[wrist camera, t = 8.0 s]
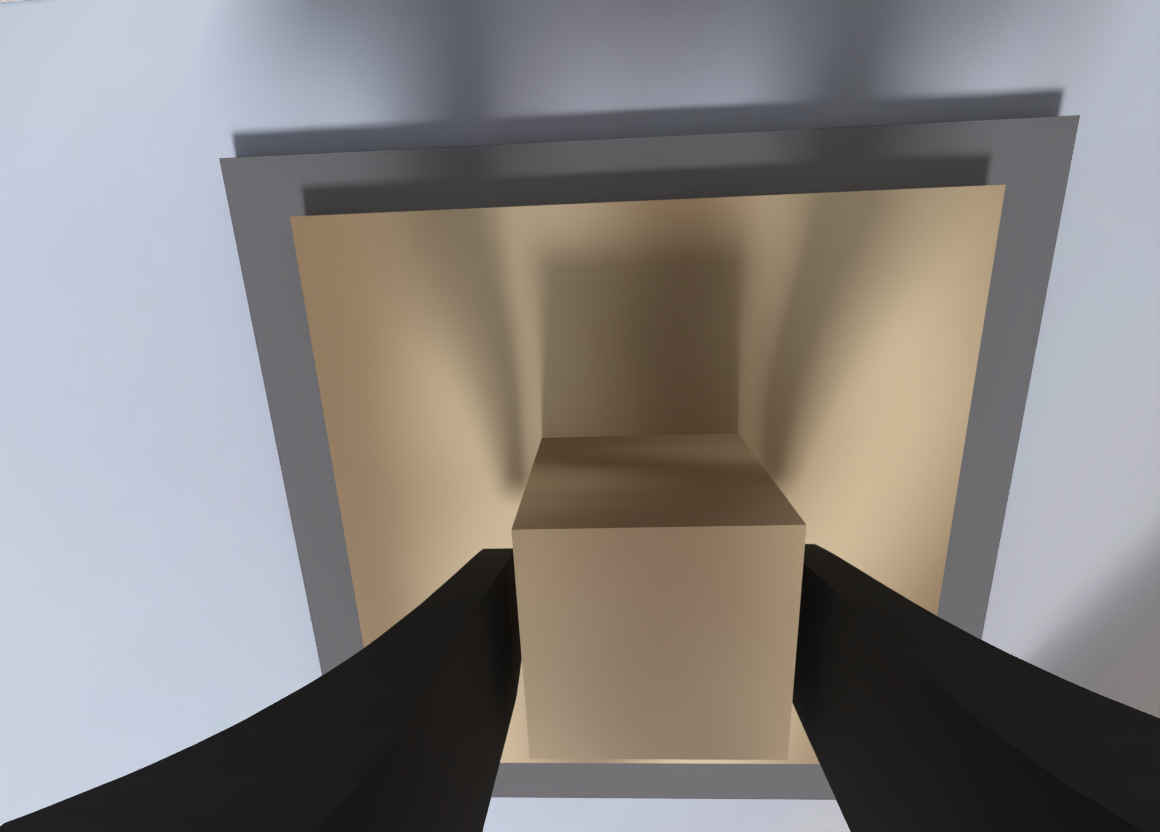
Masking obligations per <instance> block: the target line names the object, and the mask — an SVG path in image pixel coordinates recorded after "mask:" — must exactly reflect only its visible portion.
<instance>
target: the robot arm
mask: <svg viewBox="0 0 1160 832" xmlns="http://www.w3.org/2000/svg"><path fill="white" fill-rule="evenodd" d="M521 661H522V656H521V643H520V631H519V619H518V606H517V594H516V581H515V569H514V556H513V548H497V549H482V550H481V551H480V552H478V553H477V554H476V555H475V556H474V557H473V558H472V559H470V560H469V561H468V562H467V563H466V564H465V565H464V566H463V567H462V568H461V569H460V570H458V571H457V572H456V573H455V574H454V575H453V576H452V577H451V578H450V579H449V580H447V581H446V582H445V583H444V584H443V585H442V586H441V587H439V588H438V589H437V590H436V591H435V592H434V593H433V594H431V595H430V596H429V597H428V598H427V599H426V600H425V601H423V602H422V603H421V604H420V605H419V606H418V607H416V608H415V609H414V610H412V611H411V612H410V613H409V614H407V615H406V616H405V617H404V618H402V619H401V620H400V621H399V622H397V623H396V624H395V625H393V626H392V627H391V628H390V629H388V630H387V631H386V632H385V633H383V634H382V635H381V636H380V637H378V638H377V639H376V640H374V641H373V642H371V643H370V644H369V645H367V646H366V647H365V648H363V649H362V650H360V651H359V652H357V653H356V654H354V655H353V656H352V657H350V658H349V659H347V660H346V661H344V662H343V663H341V664H339V665H338V666H336V667H335V668H333V669H332V670H330V671H329V672H327V673H326V674H324V675H322V676H321V677H319V678H318V679H316V680H314V681H313V682H311V683H310V684H308V685H306V686H304V687H303V688H301V689H299V690H297V691H295V692H294V693H292V694H290V695H288V696H286V697H285V698H283V699H281V700H279V701H278V702H276V703H274V704H272V705H270V706H269V707H267V708H265V709H263V710H261V711H260V712H258V713H256V714H254V715H252V716H251V717H249V718H247V719H245V720H243V721H241V722H239V723H238V724H236V725H234V726H232V727H230V728H228V729H226V730H224V731H221V732H219V733H217V734H215V735H213V736H211V737H209V738H207V739H205V740H203V741H201V742H199V743H197V744H195V745H193V746H191V747H188V748H186V749H184V750H182V751H180V752H177V753H175V754H173V755H171V756H169V757H167V758H164V759H162V760H160V761H158V762H156V763H153V764H151V765H149V766H147V767H144V768H142V769H140V770H137V771H135V772H133V773H130V774H128V775H126V776H123V777H121V778H118V779H116V780H113V781H111V782H108V783H106V784H103V785H101V786H98V787H96V788H93V789H91V790H88V791H86V792H83V793H81V794H78V795H76V796H73V797H71V798H68V799H66V800H63V801H61V802H58V803H56V804H53V805H51V806H48V807H46V808H43V809H41V810H38V811H36V812H33V813H30V814H28V815H25V816H22V817H20V818H17V819H14V820H12V821H9V822H6V823H4V824H3V825H1V826H0V832H482V831H483V827H484V823H485V819H486V815H487V811H488V807H489V803H490V800H491V796H492V792H493V788H494V784H495V780H496V776H497V772H498V768H499V765H500V761H501V757H502V753H503V749H504V745H505V741H506V737H507V733H508V729H509V725H510V722H511V718H512V714H513V710H514V705H515V701H516V697H517V691H518V683H519V676H520V669H521ZM792 703H793V705H794V708H795V710H796V712H797V714H798V717H799V719H800V721H801V723H802V726H803V728H804V730H805V732H806V734H807V737H808V739H809V741H810V743H811V746H812V748H813V750H814V752H815V754H816V757H817V759H818V761H819V763H820V765H821V767H822V770H823V772H824V774H825V776H826V778H827V781H828V783H829V785H830V787H831V789H832V792H833V794H834V796H835V798H836V800H837V803H838V805H839V807H840V809H841V811H842V814H843V816H844V818H845V820H846V822H847V825H848V827H849V829H850V831H851V832H1160V718H1157V717H1155V716H1152V715H1150V714H1147V713H1145V712H1142V711H1140V710H1137V709H1135V708H1132V707H1129V706H1127V705H1124V704H1122V703H1119V702H1117V701H1114V700H1112V699H1109V698H1107V697H1104V696H1102V695H1099V694H1097V693H1095V692H1092V691H1090V690H1088V689H1085V688H1083V687H1081V686H1078V685H1076V684H1074V683H1071V682H1069V681H1067V680H1064V679H1062V678H1060V677H1058V676H1056V675H1054V674H1051V673H1049V672H1047V671H1045V670H1043V669H1041V668H1038V667H1036V666H1034V665H1032V664H1030V663H1028V662H1026V661H1023V660H1021V659H1019V658H1017V657H1015V656H1013V655H1010V654H1008V653H1006V652H1004V651H1002V650H1000V649H998V648H996V647H994V646H992V645H990V644H988V643H986V642H984V641H983V640H981V639H979V638H977V637H975V636H973V635H971V634H970V633H968V632H966V631H964V630H962V629H960V628H958V627H957V626H955V625H953V624H951V623H949V622H947V621H945V620H944V619H942V618H940V617H938V616H936V615H935V614H933V613H931V612H929V611H928V610H926V609H924V608H922V607H921V606H919V605H917V604H916V603H914V602H912V601H910V600H909V599H907V598H905V597H904V596H902V595H900V594H899V593H897V592H895V591H894V590H892V589H890V588H889V587H887V586H885V585H884V584H882V583H881V582H879V581H877V580H876V579H874V578H872V577H871V576H869V575H868V574H866V573H864V572H863V571H861V570H859V569H858V568H856V567H855V566H853V565H851V564H850V563H848V562H846V561H845V560H843V559H841V558H840V557H838V556H836V555H835V554H833V553H831V552H830V551H828V550H826V549H824V548H822V547H820V546H818V545H816V544H805V550H804V562H803V575H802V587H801V600H800V612H799V624H798V637H797V649H796V662H795V674H794V687H793V699H792Z"/></svg>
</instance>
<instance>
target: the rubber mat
mask: <svg viewBox="0 0 1160 832" xmlns="http://www.w3.org/2000/svg"><path fill="white" fill-rule="evenodd" d="M1079 117H1080V115H1077V116H1057V117H1037V118H1017V119H997V120H977V121H957V122H937V123H917V124H897V125H877V126H857V127H837V128H817V129H797V130H777V131H757V132H737V133H717V134H697V135H677V136H657V137H637V138H617V139H597V140H577V141H557V142H537V143H517V144H497V145H477V146H457V147H437V148H417V149H397V150H377V151H357V152H337V153H317V154H297V155H277V156H257V157H237V158H219V159H220V164H221V169H222V174H223V179H224V184H225V189H226V194H227V199H228V204H229V209H230V214H231V219H232V224H233V229H234V235H235V240H236V245H237V250H238V255H239V260H240V265H241V270H242V275H243V280H244V285H245V290H246V295H247V300H248V305H249V310H250V315H251V320H252V325H253V330H254V335H255V340H256V345H257V350H258V355H259V360H260V365H261V370H262V375H263V380H264V385H265V390H266V395H267V400H268V405H269V410H270V415H271V420H272V425H273V430H274V435H275V440H276V445H277V450H278V455H279V460H280V465H281V470H282V475H283V480H284V485H285V490H286V495H287V500H288V505H289V510H290V516H291V521H292V526H293V531H294V536H295V541H296V546H297V551H298V556H299V561H300V566H301V571H302V576H303V581H304V586H305V591H306V596H307V601H308V606H309V611H310V616H311V621H312V626H313V631H314V636H315V641H316V646H317V651H318V656H319V661H320V666H321V671H322V675H324V674H326V673H327V672H329V671H330V670H332V669H333V668H335V667H336V666H338V665H339V664H341V663H343V662H344V661H346V660H347V659H349V658H350V657H352V656H353V655H354V654H356V653H357V652H359V651H360V650H362V649H363V648H364V645H363V639H362V634H361V628H360V622H359V616H358V610H357V605H356V599H355V593H354V587H353V581H352V576H351V570H350V564H349V558H348V552H347V546H346V541H345V535H344V529H343V523H342V517H341V512H340V506H339V500H338V494H337V488H336V482H335V477H334V471H333V465H332V459H331V453H330V448H329V442H328V436H327V430H326V424H325V419H324V413H323V407H322V401H321V395H320V389H319V384H318V378H317V372H316V366H315V360H314V355H313V349H312V343H311V337H310V331H309V325H308V320H307V314H306V308H305V302H304V296H303V291H302V285H301V279H300V273H299V267H298V262H297V256H296V250H295V244H294V238H293V232H292V227H291V221H290V217H293V216H316V215H338V214H360V213H383V212H405V211H427V210H450V209H472V208H494V207H517V206H539V205H561V204H584V203H606V202H628V201H651V200H673V199H695V198H718V197H740V196H762V195H785V194H807V193H829V192H852V191H874V190H896V189H919V188H941V187H963V186H986V185H1006V187H1005V193H1004V199H1003V205H1002V212H1001V218H1000V224H999V231H998V237H997V243H996V249H995V256H994V262H993V268H992V274H991V281H990V287H989V293H988V299H987V306H986V312H985V318H984V325H983V331H982V337H981V343H980V350H979V356H978V362H977V368H976V375H975V381H974V387H973V393H972V400H971V406H970V412H969V419H968V425H967V431H966V437H965V444H964V450H963V456H962V462H961V469H960V475H959V481H958V488H957V494H956V500H955V506H954V513H953V519H952V525H951V531H950V538H949V544H948V550H947V556H946V563H945V569H944V575H943V582H942V588H941V594H940V600H939V607H938V613H937V616H938V617H940V618H942V619H944V620H945V621H947V622H949V623H951V624H953V625H955V626H957V627H958V628H960V629H962V630H964V631H966V632H968V633H970V634H971V635H973V636H975V637H977V638H979V639H981V638H982V633H983V628H984V622H985V617H986V612H987V607H988V601H989V596H990V591H991V585H992V580H993V575H994V569H995V564H996V559H997V553H998V548H999V543H1000V537H1001V532H1002V527H1003V521H1004V516H1005V511H1006V505H1007V500H1008V495H1009V489H1010V484H1011V479H1012V473H1013V468H1014V463H1015V457H1016V452H1017V447H1018V442H1019V436H1020V431H1021V426H1022V420H1023V415H1024V410H1025V404H1026V399H1027V394H1028V388H1029V383H1030V378H1031V372H1032V367H1033V362H1034V356H1035V351H1036V346H1037V340H1038V335H1039V330H1040V324H1041V319H1042V314H1043V308H1044V303H1045V298H1046V292H1047V287H1048V282H1049V277H1050V271H1051V266H1052V261H1053V255H1054V250H1055V245H1056V239H1057V234H1058V229H1059V223H1060V218H1061V213H1062V207H1063V202H1064V197H1065V191H1066V186H1067V181H1068V175H1069V170H1070V165H1071V159H1072V154H1073V149H1074V143H1075V138H1076V133H1077V127H1078V122H1079ZM491 797H536V798H673V799H811V800H836V798H835V796H834V794H833V792H832V789H831V787H830V785H829V783H828V781H827V778H826V776H825V774H824V772H823V770H822V767H821V765H820V764H686V763H500V765H499V768H498V772H497V776H496V780H495V784H494V788H493V792H492V796H491Z"/></svg>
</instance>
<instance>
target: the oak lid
mask: <svg viewBox="0 0 1160 832" xmlns="http://www.w3.org/2000/svg"><path fill="white" fill-rule="evenodd" d="M1005 187H1006V185H986V186H963V187H941V188H919V189H896V190H874V191H852V192H829V193H807V194H785V195H762V196H740V197H718V198H695V199H673V200H651V201H628V202H606V203H584V204H561V205H539V206H517V207H494V208H472V209H450V210H427V211H405V212H383V213H360V214H338V215H316V216H293V217H290V221H291V227H292V232H293V238H294V244H295V250H296V256H297V262H298V267H299V273H300V279H301V285H302V291H303V296H304V302H305V308H306V314H307V320H308V325H309V331H310V337H311V343H312V349H313V355H314V360H315V366H316V372H317V378H318V384H319V389H320V395H321V401H322V407H323V413H324V419H325V424H326V430H327V436H328V442H329V448H330V453H331V459H332V465H333V471H334V477H335V482H336V488H337V494H338V500H339V506H340V512H341V517H342V523H343V529H344V535H345V541H346V546H347V552H348V558H349V564H350V570H351V576H352V581H353V587H354V593H355V599H356V605H357V610H358V616H359V622H360V628H361V634H362V639H363V645H364V648H365V647H366V646H367V645H369V644H370V643H371V642H373V641H374V640H376V639H377V638H378V637H380V636H381V635H382V634H383V633H385V632H386V631H387V630H388V629H390V628H391V627H392V626H393V625H395V624H396V623H397V622H399V621H400V620H401V619H402V618H404V617H405V616H406V615H407V614H409V613H410V612H411V611H412V610H414V609H415V608H416V607H418V606H419V605H420V604H421V603H422V602H423V601H425V600H426V599H427V598H428V597H429V596H430V595H431V594H433V593H434V592H435V591H436V590H437V589H438V588H439V587H441V586H442V585H443V584H444V583H445V582H446V581H447V580H449V579H450V578H451V577H452V576H453V575H454V574H455V573H456V572H457V571H458V570H460V569H461V568H462V567H463V566H464V565H465V564H466V563H467V562H468V561H469V560H470V559H472V558H473V557H474V556H475V555H476V554H477V553H478V552H480V551H481V550H482V549H497V548H513V556H514V569H515V581H516V594H517V606H518V619H519V631H520V643H521V656H522V661H521V669H520V676H519V683H518V691H517V697H516V701H515V705H514V710H513V714H512V718H511V722H510V725H509V729H508V733H507V737H506V741H505V745H504V749H503V753H502V757H501V761H500V763H686V764H820V763H819V761H818V759H817V757H816V754H815V752H814V750H813V748H812V746H811V743H810V741H809V739H808V737H807V734H806V732H805V730H804V728H803V726H802V723H801V721H800V719H799V717H798V714H797V712H796V710H795V708H794V705H793V703H792V699H793V687H794V674H795V662H796V649H797V637H798V624H799V612H800V600H801V587H802V575H803V562H804V550H805V544H816V545H818V546H820V547H822V548H824V549H826V550H828V551H830V552H831V553H833V554H835V555H836V556H838V557H840V558H841V559H843V560H845V561H846V562H848V563H850V564H851V565H853V566H855V567H856V568H858V569H859V570H861V571H863V572H864V573H866V574H868V575H869V576H871V577H872V578H874V579H876V580H877V581H879V582H881V583H882V584H884V585H885V586H887V587H889V588H890V589H892V590H894V591H895V592H897V593H899V594H900V595H902V596H904V597H905V598H907V599H909V600H910V601H912V602H914V603H916V604H917V605H919V606H921V607H922V608H924V609H926V610H928V611H929V612H931V613H933V614H935V615H936V616H937V613H938V607H939V600H940V594H941V588H942V582H943V575H944V569H945V563H946V556H947V550H948V544H949V538H950V531H951V525H952V519H953V513H954V506H955V500H956V494H957V488H958V481H959V475H960V469H961V462H962V456H963V450H964V444H965V437H966V431H967V425H968V419H969V412H970V406H971V400H972V393H973V387H974V381H975V375H976V368H977V362H978V356H979V350H980V343H981V337H982V331H983V325H984V318H985V312H986V306H987V299H988V293H989V287H990V281H991V274H992V268H993V262H994V256H995V249H996V243H997V237H998V231H999V224H1000V218H1001V212H1002V205H1003V199H1004V193H1005Z"/></svg>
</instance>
